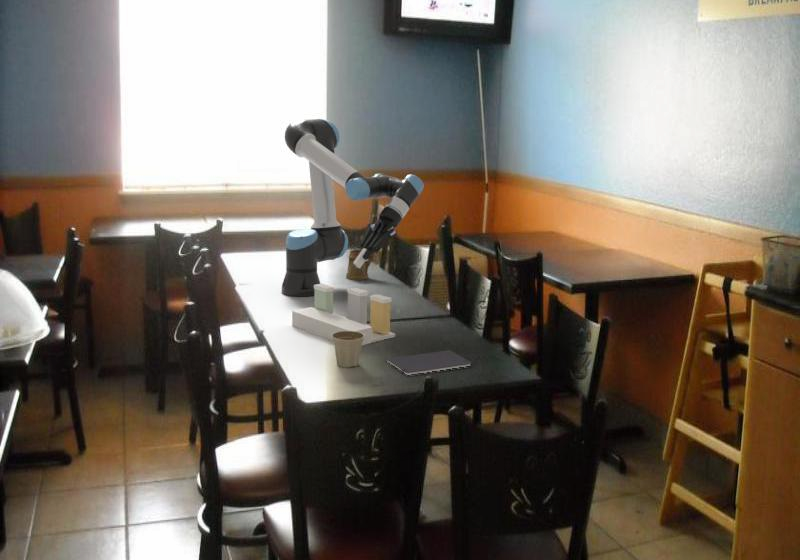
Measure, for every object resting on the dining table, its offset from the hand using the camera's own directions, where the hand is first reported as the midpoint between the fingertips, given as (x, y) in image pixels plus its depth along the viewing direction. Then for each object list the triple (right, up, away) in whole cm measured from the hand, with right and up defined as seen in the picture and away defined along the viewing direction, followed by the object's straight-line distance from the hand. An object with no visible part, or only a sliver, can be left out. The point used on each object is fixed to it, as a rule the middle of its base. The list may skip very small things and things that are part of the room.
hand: (356, 265), depth 278 cm
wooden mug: (-1, -4, +61) cm, 61 cm away
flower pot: (0, -29, -45) cm, 54 cm away
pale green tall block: (-11, -18, -6) cm, 22 cm away
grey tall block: (+1, -19, -10) cm, 22 cm away
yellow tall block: (+8, -21, -18) cm, 29 cm away
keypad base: (-4, -22, -15) cm, 26 cm away
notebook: (+23, -30, -43) cm, 57 cm away
